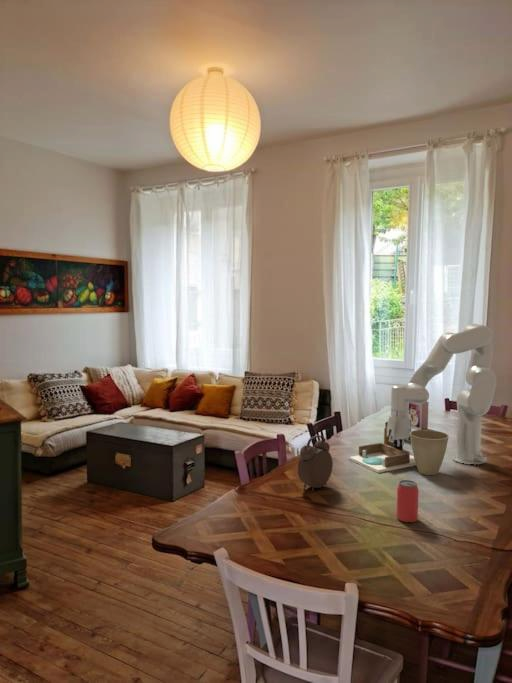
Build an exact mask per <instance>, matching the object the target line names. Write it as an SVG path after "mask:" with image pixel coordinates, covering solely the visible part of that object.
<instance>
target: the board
mask: <svg viewBox="0 0 512 683" xmlns="http://www.w3.org/2000/svg"><path fill="white" fill-rule="evenodd" d="M385 457H389V455H386V454H384V453H381V452H378V453H372V454H366V450H363V455H361V456H360V455H359V454H357V455H353V456H349V457H348V460H349V461H351V462H354V463H355V464H357V463H358V465H359V464H360V466H362V467H364V468H366V469H368V470H370V471H372V472H374V471H375V473H377V474H379V473H381V474H382V473H385V471H386V472H389V471H396V470H399V469H406V468H410V467H415V466H417V465H416V462H415V459H414V455H411V454H410V463H406V464H401V465H396V466H391V467H385ZM414 465H415V466H414Z"/></svg>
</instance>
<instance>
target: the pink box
mask: <svg viewBox="0 0 512 683" xmlns="http://www.w3.org/2000/svg"><path fill="white" fill-rule="evenodd" d="M429 405H430V404H429V401H428V400H427V401H426V402H425V403H421V404H418V403H412V402H409V410H410V412H409V417H410V418H411V429H414V430H422V429H425V430H429V429H428V428H429Z"/></svg>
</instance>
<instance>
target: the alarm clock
mask: <svg viewBox="0 0 512 683" xmlns="http://www.w3.org/2000/svg"><path fill="white" fill-rule="evenodd" d="M317 438H320V440H317V441H316V442H315V444H313V445H311V442H312V441H313V440H314V439H317ZM326 440H327V439H326V438H324V436H323V435H318V434H317V435H314V436H311V437H309V439H308V441H307V443H306V445H303V446H302V447H301V448H300V451H299V455H300V458H299V461H298V463H297V464H298V465H297V474H298V478H299V480H300V482H302V483H303V484H304V485H303V488H302V490H306V486H309V487H312V489H311V491H312V492H314V489H315V488H317V489H320V488H322V487H324V486H327V485H328V484H327V483H328V481H329V479H330V478H331V476H332V472H333V458H332V455H331V453H330V448H331V447H330V444H329V443H328V442H327V441H326Z"/></svg>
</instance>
